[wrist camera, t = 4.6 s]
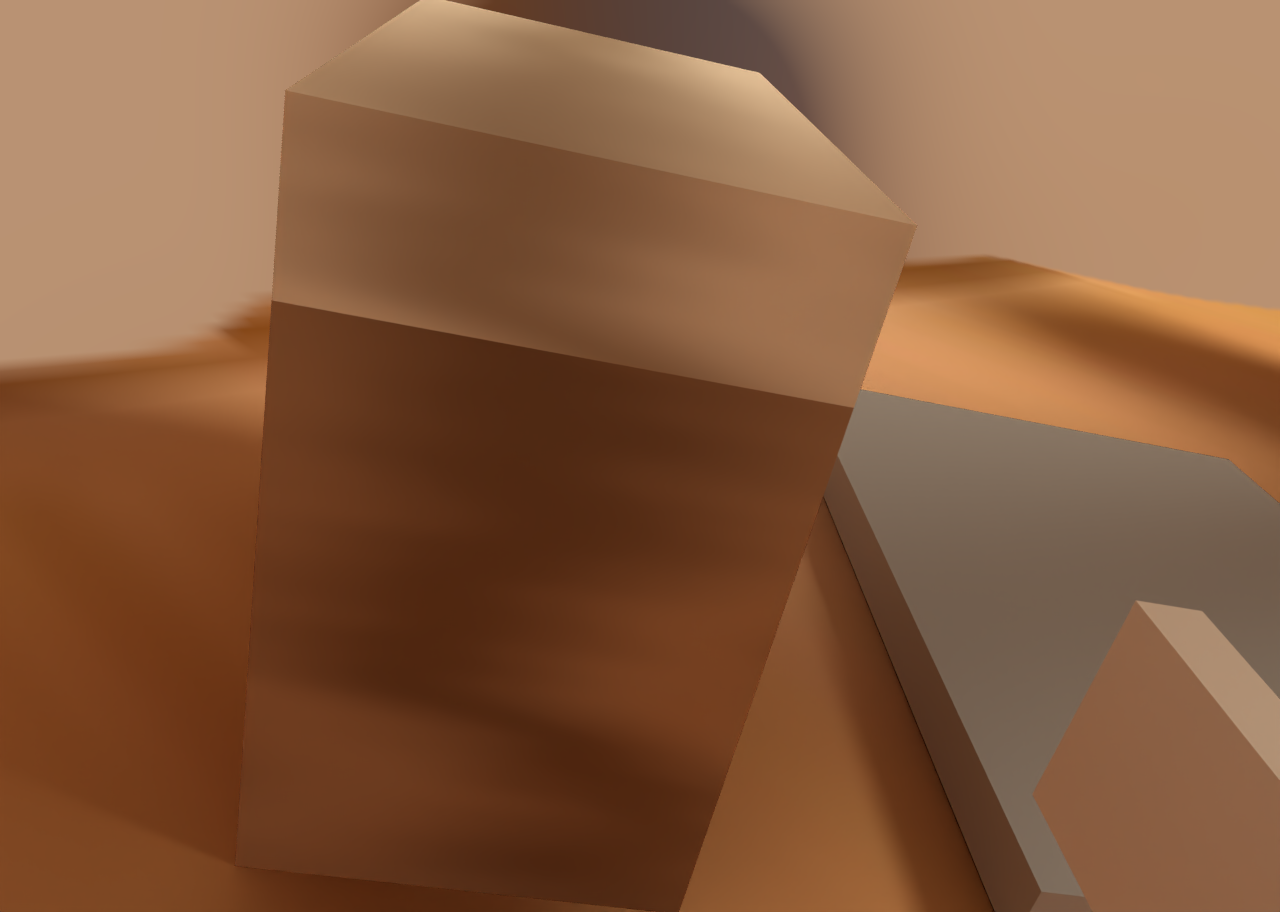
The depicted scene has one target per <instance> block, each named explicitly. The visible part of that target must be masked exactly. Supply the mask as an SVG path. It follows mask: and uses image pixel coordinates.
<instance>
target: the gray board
mask: <svg viewBox="0 0 1280 912" xmlns="http://www.w3.org/2000/svg"><path fill="white" fill-rule="evenodd" d="M823 496H824V499H825V501H826V503H827V506H828V508H829V511H830V513H831V516H832V518H833V520H834V523H835V525H836V528H837V530H838V533H839V535H840V537H841V540H842V542H843V545H844V547H845V550H846V552H847V554H848V557H849V559H850V562H851V564H852V567H853V569H854V571H855V574H856V576H857V579H858V581H859V584H860V586H861V588H862V591H863V593H864V596H865V598H866V601H867V603H868V605H869V608H870V610H871V613H872V615H873V618H874V620H875V622H876V625H877V627H878V630H879V632H880V635H881V637H882V639H883V642H884V644H885V647H886V649H887V652H888V654H889V656H890V659H891V661H892V664H893V666H894V668H895V671H896V673H897V676H898V678H899V681H900V683H901V685H902V688H903V690H904V693H905V695H906V698H907V700H908V702H909V705H910V707H911V710H912V712H913V715H914V717H915V719H916V722H917V724H918V727H919V729H920V732H921V734H922V736H923V739H924V741H925V744H926V746H927V749H928V751H929V753H930V756H931V758H932V761H933V763H934V766H935V768H936V770H937V773H938V775H939V778H940V780H941V783H942V785H943V787H944V790H945V792H946V795H947V797H948V800H949V802H950V804H951V807H952V809H953V812H954V814H955V817H956V819H957V821H958V824H959V826H960V829H961V831H962V834H963V836H964V838H965V841H966V843H967V846H968V848H969V851H970V853H971V855H972V858H973V860H974V863H975V865H976V868H977V870H978V872H979V875H980V877H981V880H982V882H983V885H984V887H985V889H986V892H987V894H988V897H989V899H990V902H991V904H992V906H993V909H994V911H995V912H1092V910H1091V908H1090V906H1089V904H1088V902H1087V900H1086V898H1085V896H1084V894H1083V892H1082V890H1081V888H1080V886H1079V884H1078V882H1077V880H1076V878H1075V877H1074V875H1073V873H1072V871H1071V869H1070V867H1069V865H1068V863H1067V861H1066V859H1065V857H1064V855H1063V853H1062V851H1061V849H1060V847H1059V845H1058V843H1057V841H1056V839H1055V837H1054V836H1053V834H1052V832H1051V830H1050V828H1049V826H1048V824H1047V822H1046V820H1045V818H1044V816H1043V814H1042V812H1041V810H1040V808H1039V806H1038V804H1037V802H1036V800H1035V798H1034V797H1033V795H1032V794H1033V792H1034V790H1035V788H1036V786H1037V784H1038V783H1039V781H1040V779H1041V777H1042V775H1043V773H1044V771H1045V769H1046V768H1047V766H1048V764H1049V762H1050V760H1051V758H1052V756H1053V754H1054V753H1055V751H1056V749H1057V747H1058V745H1059V743H1060V741H1061V739H1062V738H1063V736H1064V734H1065V732H1066V730H1067V728H1068V726H1069V724H1070V723H1071V721H1072V719H1073V717H1074V715H1075V713H1076V711H1077V709H1078V708H1079V706H1080V704H1081V702H1082V700H1083V698H1084V696H1085V695H1086V693H1087V691H1088V689H1089V687H1090V685H1091V683H1092V681H1093V680H1094V678H1095V676H1096V674H1097V672H1098V670H1099V668H1100V666H1101V665H1102V663H1103V661H1104V659H1105V657H1106V655H1107V653H1108V651H1109V650H1110V648H1111V646H1112V644H1113V642H1114V640H1115V638H1116V636H1117V635H1118V633H1119V631H1120V629H1121V627H1122V625H1123V623H1124V621H1125V620H1126V618H1127V616H1128V614H1129V612H1130V610H1131V608H1132V606H1133V605H1134V603H1135V601H1136V600H1137V601H1143V602H1149V603H1155V604H1161V605H1168V606H1174V607H1180V608H1186V609H1192V610H1198V611H1203V613H1204V614H1205V615H1206V616H1207V617H1208V618H1209V619H1210V621H1211V622H1212V623H1213V624H1214V625H1215V626H1216V627H1217V628H1218V630H1219V631H1220V632H1221V633H1222V634H1223V635H1224V636H1225V638H1226V639H1227V640H1228V641H1229V642H1230V643H1231V644H1232V645H1233V647H1234V648H1235V649H1236V650H1237V651H1238V652H1239V653H1240V655H1241V656H1242V657H1243V658H1244V659H1245V660H1246V661H1247V663H1248V664H1249V665H1250V666H1251V667H1252V668H1253V669H1254V670H1255V672H1256V673H1257V674H1258V675H1259V676H1260V677H1261V678H1262V680H1263V681H1264V682H1265V683H1266V684H1267V685H1268V686H1269V688H1270V689H1271V690H1272V691H1273V692H1274V693H1275V694H1276V695H1277V697H1278V698H1279V699H1280V503H1278V502H1277V501H1276V500H1275V499H1274V498H1273V497H1271V496H1270V495H1269V494H1268V493H1267V492H1266V491H1265V490H1263V489H1262V488H1261V487H1260V486H1259V485H1258V484H1256V483H1255V482H1254V481H1253V480H1252V479H1251V478H1249V477H1248V476H1247V475H1246V474H1245V473H1244V472H1243V471H1241V470H1240V469H1239V468H1238V467H1237V466H1236V465H1234V464H1233V463H1232V462H1231V461H1230V460H1229V459H1224V458H1219V457H1214V456H1209V455H1203V454H1198V453H1193V452H1187V451H1182V450H1177V449H1172V448H1166V447H1161V446H1156V445H1151V444H1145V443H1140V442H1135V441H1130V440H1124V439H1119V438H1114V437H1109V436H1103V435H1098V434H1093V433H1088V432H1082V431H1077V430H1072V429H1066V428H1061V427H1056V426H1051V425H1045V424H1040V423H1035V422H1030V421H1024V420H1019V419H1014V418H1009V417H1003V416H998V415H993V414H988V413H982V412H977V411H972V410H966V409H961V408H956V407H951V406H945V405H940V404H935V403H930V402H924V401H919V400H914V399H909V398H903V397H898V396H893V395H888V394H882V393H877V392H872V391H866V390H861V389H860V392H859V395H858V398H857V400H856V403H855V406H854V409H853V412H852V415H851V418H850V421H849V423H848V426H847V429H846V432H845V435H844V438H843V441H842V444H841V446H840V449H839V452H838V455H837V458H836V461H835V464H834V467H833V469H832V472H831V475H830V478H829V481H828V484H827V487H826V490H825V493H824V495H823Z"/></svg>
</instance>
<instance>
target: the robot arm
mask: <svg viewBox="0 0 1280 912" xmlns="http://www.w3.org/2000/svg"><path fill="white" fill-rule="evenodd" d="M1032 795H1033V797H1034V798H1035V800H1036V802H1037V804H1038V806H1039V808H1040V810H1041V812H1042V814H1043V816H1044V818H1045V820H1046V822H1047V824H1048V826H1049V828H1050V830H1051V832H1052V834H1053V836H1054V837H1055V839H1056V841H1057V843H1058V845H1059V847H1060V849H1061V851H1062V853H1063V855H1064V857H1065V859H1066V861H1067V863H1068V865H1069V867H1070V869H1071V871H1072V873H1073V875H1074V877H1075V878H1076V880H1077V882H1078V884H1079V886H1080V888H1081V890H1082V892H1083V894H1084V896H1085V898H1086V900H1087V902H1088V904H1089V906H1090V908H1091V910H1092V912H1280V699H1279V698H1278V697H1277V695H1276V694H1275V693H1274V692H1273V691H1272V690H1271V689H1270V688H1269V686H1268V685H1267V684H1266V683H1265V682H1264V681H1263V680H1262V678H1261V677H1260V676H1259V675H1258V674H1257V673H1256V672H1255V670H1254V669H1253V668H1252V667H1251V666H1250V665H1249V664H1248V663H1247V661H1246V660H1245V659H1244V658H1243V657H1242V656H1241V655H1240V653H1239V652H1238V651H1237V650H1236V649H1235V648H1234V647H1233V645H1232V644H1231V643H1230V642H1229V641H1228V640H1227V639H1226V638H1225V636H1224V635H1223V634H1222V633H1221V632H1220V631H1219V630H1218V628H1217V627H1216V626H1215V625H1214V624H1213V623H1212V622H1211V621H1210V619H1209V618H1208V617H1207V616H1206V615H1205V614H1204V613H1203V611H1198V610H1192V609H1186V608H1180V607H1174V606H1168V605H1161V604H1155V603H1149V602H1143V601H1137V600H1136V601H1135V603H1134V605H1133V606H1132V608H1131V610H1130V612H1129V614H1128V616H1127V618H1126V620H1125V621H1124V623H1123V625H1122V627H1121V629H1120V631H1119V633H1118V635H1117V636H1116V638H1115V640H1114V642H1113V644H1112V646H1111V648H1110V650H1109V651H1108V653H1107V655H1106V657H1105V659H1104V661H1103V663H1102V665H1101V666H1100V668H1099V670H1098V672H1097V674H1096V676H1095V678H1094V680H1093V681H1092V683H1091V685H1090V687H1089V689H1088V691H1087V693H1086V695H1085V696H1084V698H1083V700H1082V702H1081V704H1080V706H1079V708H1078V709H1077V711H1076V713H1075V715H1074V717H1073V719H1072V721H1071V723H1070V724H1069V726H1068V728H1067V730H1066V732H1065V734H1064V736H1063V738H1062V739H1061V741H1060V743H1059V745H1058V747H1057V749H1056V751H1055V753H1054V754H1053V756H1052V758H1051V760H1050V762H1049V764H1048V766H1047V768H1046V769H1045V771H1044V773H1043V775H1042V777H1041V779H1040V781H1039V783H1038V784H1037V786H1036V788H1035V790H1034V792H1033V794H1032Z"/></svg>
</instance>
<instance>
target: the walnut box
mask: <svg viewBox="0 0 1280 912" xmlns="http://www.w3.org/2000/svg"><path fill="white" fill-rule="evenodd" d="M284 104H285V105H284V119H283V134H282V151H281V166H280V183H279V196H278V211H277V227H276V244H275V259H274V273H273V289H272V304H271V319H270V335H269V350H268V366H267V381H266V396H265V412H264V427H263V443H262V458H261V474H260V489H259V504H258V520H257V535H256V551H255V566H254V582H253V597H252V612H251V628H250V643H249V659H248V674H247V690H246V705H245V720H244V736H243V751H242V767H241V782H240V798H239V813H238V828H237V844H236V859H235V866H240V867H249V868H258V869H267V870H277V871H286V872H295V873H304V874H314V875H323V876H332V877H341V878H350V879H360V880H369V881H378V882H387V883H397V884H406V885H415V886H424V887H433V888H443V889H452V890H461V891H470V892H480V893H489V894H498V895H507V896H516V897H526V898H535V899H544V900H553V901H563V902H572V903H581V904H590V905H599V906H609V907H618V908H627V909H636V910H646V911H655V912H679V910H680V907H681V904H682V901H683V899H684V896H685V893H686V890H687V887H688V884H689V881H690V878H691V875H692V873H693V870H694V867H695V864H696V861H697V858H698V855H699V852H700V850H701V847H702V844H703V841H704V838H705V835H706V832H707V829H708V827H709V824H710V821H711V818H712V815H713V812H714V809H715V806H716V803H717V801H718V798H719V795H720V792H721V789H722V786H723V783H724V780H725V778H726V775H727V772H728V769H729V766H730V763H731V760H732V757H733V755H734V752H735V749H736V746H737V743H738V740H739V737H740V734H741V732H742V729H743V726H744V723H745V720H746V717H747V714H748V711H749V708H750V706H751V703H752V700H753V697H754V694H755V691H756V688H757V685H758V683H759V680H760V677H761V674H762V671H763V668H764V665H765V662H766V660H767V657H768V654H769V651H770V648H771V645H772V642H773V639H774V636H775V634H776V631H777V628H778V625H779V622H780V619H781V616H782V613H783V611H784V608H785V605H786V602H787V599H788V596H789V593H790V590H791V588H792V585H793V582H794V579H795V576H796V573H797V570H798V567H799V565H800V562H801V559H802V556H803V553H804V550H805V547H806V544H807V541H808V539H809V536H810V533H811V530H812V527H813V524H814V521H815V518H816V516H817V513H818V510H819V507H820V504H821V501H822V498H823V495H824V493H825V490H826V487H827V484H828V481H829V478H830V475H831V472H832V469H833V467H834V464H835V461H836V458H837V455H838V452H839V449H840V446H841V444H842V441H843V438H844V435H845V432H846V429H847V426H848V423H849V421H850V418H851V415H852V412H853V409H854V406H855V403H856V400H857V398H858V395H859V392H860V389H861V386H862V383H863V380H864V377H865V374H866V372H867V369H868V366H869V363H870V360H871V357H872V354H873V351H874V349H875V346H876V343H877V340H878V337H879V334H880V331H881V328H882V326H883V323H884V320H885V317H886V314H887V311H888V308H889V305H890V302H891V300H892V297H893V294H894V291H895V288H896V285H897V282H898V279H899V277H900V274H901V271H902V268H903V265H904V262H905V259H906V256H907V253H908V250H909V248H910V245H911V242H912V239H913V236H914V233H915V230H916V228H917V225H916V224H915V223H914V222H913V221H912V220H911V219H910V218H909V217H908V216H907V215H906V214H905V213H904V212H903V211H902V210H901V209H900V208H899V207H897V205H896V204H895V203H893V201H892V200H890V199H889V198H888V197H887V196H886V195H885V194H884V193H883V192H882V191H881V190H880V189H879V188H878V187H877V186H876V185H875V184H874V183H873V182H872V181H871V180H870V179H869V178H868V177H867V176H866V175H865V174H864V173H863V172H862V171H860V170H859V169H858V168H857V167H856V166H855V165H854V164H853V163H852V162H851V161H850V160H849V159H848V158H847V157H846V156H845V155H844V154H843V153H842V152H841V151H840V150H839V149H838V148H837V147H836V146H835V145H834V144H833V143H832V142H831V141H829V140H828V139H827V138H826V137H825V136H824V135H823V134H822V133H821V132H820V131H819V130H818V129H817V128H816V127H815V126H814V125H813V124H812V123H811V122H810V121H809V120H808V119H807V118H806V117H805V116H804V115H802V113H800V112H799V111H798V110H797V109H796V108H795V107H794V106H793V105H792V104H791V103H790V102H789V101H788V100H787V99H786V98H785V97H784V96H783V95H782V94H781V93H780V92H779V91H778V90H777V89H776V88H775V87H773V85H771V83H770V82H768V81H767V80H766V79H765V78H764V77H763V76H762V75H761V74H760V73H758V72H753V71H749V70H745V69H740V68H736V67H731V66H727V65H723V64H719V63H714V62H710V61H705V60H701V59H697V58H693V57H688V56H684V55H680V54H675V53H671V52H666V51H662V50H658V49H654V48H649V47H645V46H641V45H637V44H632V43H628V42H623V41H619V40H615V39H610V38H606V37H602V36H598V35H593V34H589V33H585V32H580V31H576V30H572V29H567V28H563V27H559V26H554V25H550V24H545V23H541V22H537V21H532V20H528V19H524V18H520V17H515V16H511V15H506V14H503V13H498V12H494V11H489V10H485V9H481V8H476V7H472V6H468V5H464V4H459V3H455V2H451V1H446V0H420V1H419V2H417V3H416V4H414V5H412V6H411V7H409V8H408V9H406V10H405V11H403V12H402V13H400V14H399V15H397V16H396V17H394V18H393V19H392V20H390V21H389V22H387V23H386V24H384V25H383V26H381V27H379V28H378V29H376V30H375V31H373V32H372V33H370V34H369V35H367V36H366V37H365V38H363V39H361V40H360V41H359V42H357V43H355V44H354V45H353V46H351V47H349V48H348V49H346V50H345V51H343V52H342V53H340V54H339V55H337V56H336V57H335V58H333V59H331V60H330V61H329V62H327V63H325V64H324V65H322V66H321V67H320V68H318V69H316V70H315V71H314V72H312V73H311V74H309V75H308V76H306V77H304V78H303V79H301V80H300V81H299V82H297V83H295V84H294V85H293V86H291V87H289V88H288V89H286V90H285V103H284Z"/></svg>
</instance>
